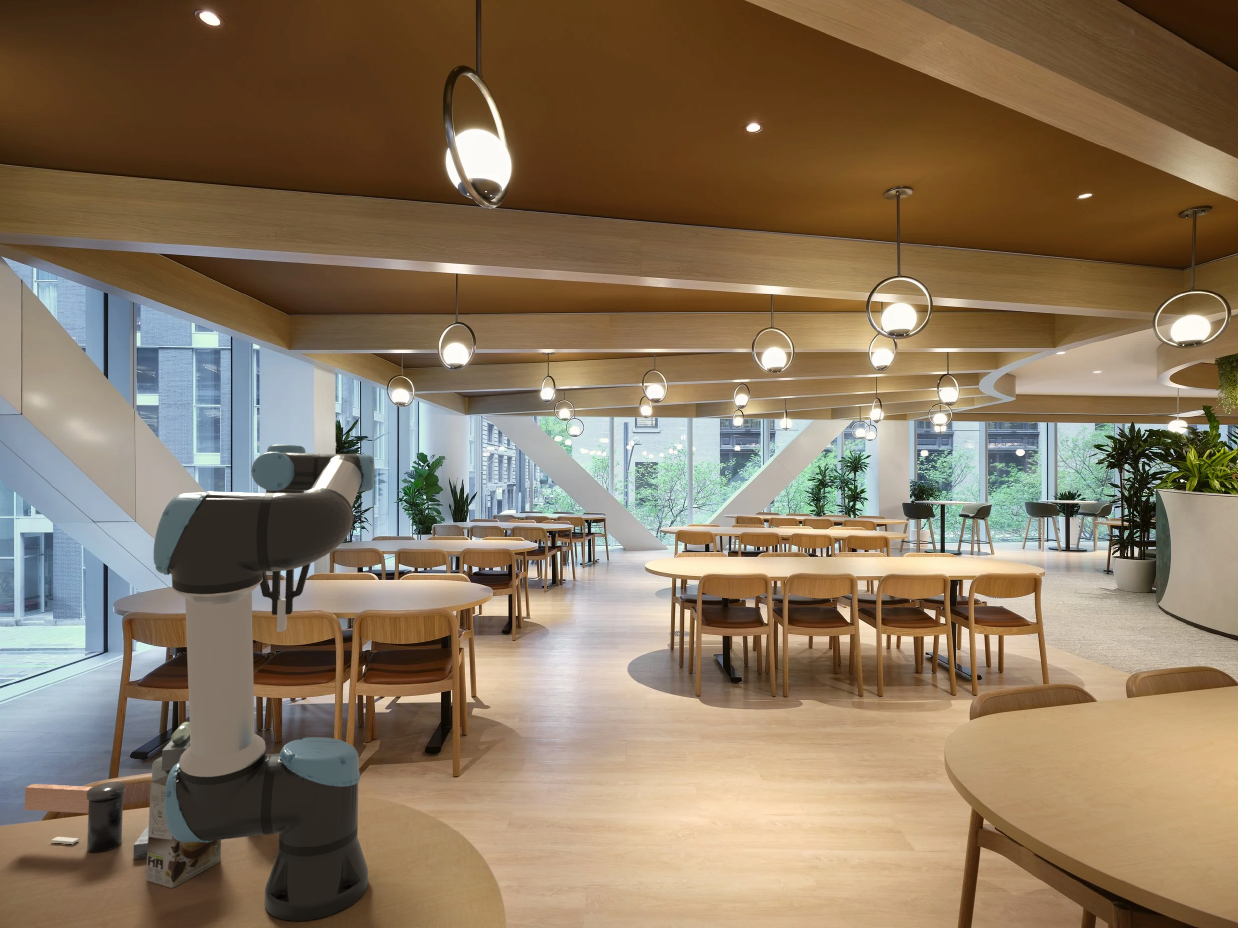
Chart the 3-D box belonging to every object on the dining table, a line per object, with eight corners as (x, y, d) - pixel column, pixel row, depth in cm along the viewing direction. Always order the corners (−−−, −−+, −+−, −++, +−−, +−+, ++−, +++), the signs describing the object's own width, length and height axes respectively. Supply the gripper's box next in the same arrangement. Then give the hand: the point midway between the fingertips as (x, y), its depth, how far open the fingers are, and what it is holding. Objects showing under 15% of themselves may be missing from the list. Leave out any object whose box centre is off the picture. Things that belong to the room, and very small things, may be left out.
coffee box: (173, 889, 113) (176, 787, 113) (144, 881, 115) (148, 781, 116) (222, 861, 121) (225, 766, 122) (195, 853, 124) (198, 760, 124)
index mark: (78, 841, 127) (78, 838, 127) (72, 844, 126) (72, 841, 126) (57, 839, 128) (57, 836, 128) (51, 843, 127) (51, 839, 127)
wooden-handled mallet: (131, 837, 128) (133, 782, 129) (106, 853, 123) (108, 795, 123) (41, 832, 130) (43, 777, 130) (12, 848, 124) (14, 790, 125)
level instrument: (205, 850, 125) (208, 733, 125) (133, 859, 122) (137, 739, 122) (220, 821, 135) (223, 714, 136) (154, 829, 132) (158, 719, 133)
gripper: (320, 517, 154) (317, 625, 154) (254, 517, 150) (251, 628, 150) (316, 518, 147) (313, 632, 146) (246, 518, 143) (243, 635, 142)
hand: (281, 630), depth 148 cm, fingers closed
